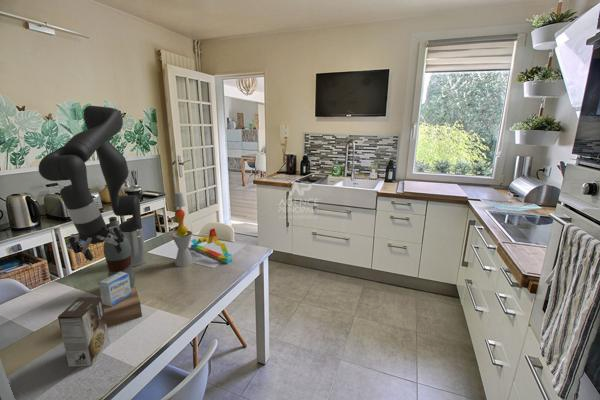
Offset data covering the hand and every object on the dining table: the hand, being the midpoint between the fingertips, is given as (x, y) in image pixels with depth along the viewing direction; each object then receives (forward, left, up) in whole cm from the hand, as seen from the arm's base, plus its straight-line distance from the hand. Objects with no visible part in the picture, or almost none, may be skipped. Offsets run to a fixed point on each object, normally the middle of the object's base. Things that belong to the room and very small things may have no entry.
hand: (105, 255), depth 98 cm
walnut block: (+4, 0, -22) cm, 22 cm away
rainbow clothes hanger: (-12, +50, -22) cm, 56 cm away
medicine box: (+4, 0, -16) cm, 16 cm away
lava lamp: (-14, +36, -21) cm, 44 cm away
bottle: (-13, +8, -21) cm, 26 cm away
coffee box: (+18, -13, -21) cm, 30 cm away
